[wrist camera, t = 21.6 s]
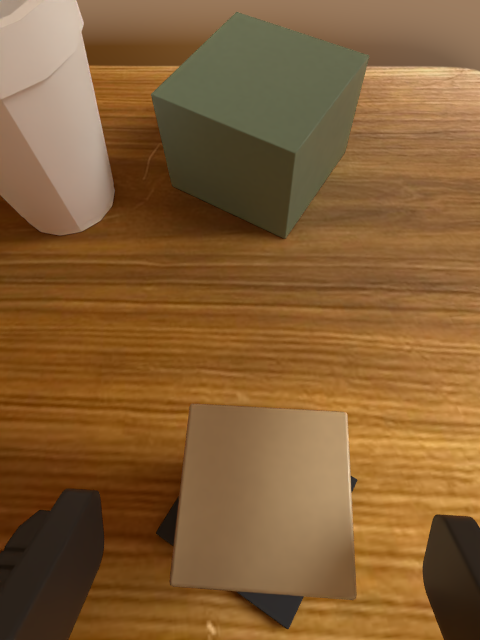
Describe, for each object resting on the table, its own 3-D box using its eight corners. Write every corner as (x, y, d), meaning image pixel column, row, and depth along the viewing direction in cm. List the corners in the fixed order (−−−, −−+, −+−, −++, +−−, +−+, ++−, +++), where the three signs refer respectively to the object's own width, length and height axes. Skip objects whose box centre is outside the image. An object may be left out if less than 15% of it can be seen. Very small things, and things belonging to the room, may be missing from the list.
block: (306, 460, 21) (347, 411, 12) (306, 565, 19) (357, 601, 10) (215, 455, 21) (189, 402, 12) (206, 558, 19) (168, 586, 10)
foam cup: (96, 131, 32) (8, -95, 20) (163, 205, 29) (104, -15, 17) (-23, 191, 30) (-199, -26, 18) (35, 280, 26) (-135, 83, 15)
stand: (345, 152, 31) (369, 55, 24) (285, 239, 27) (295, 153, 21) (239, 110, 33) (236, 11, 27) (171, 186, 30) (150, 93, 23)
